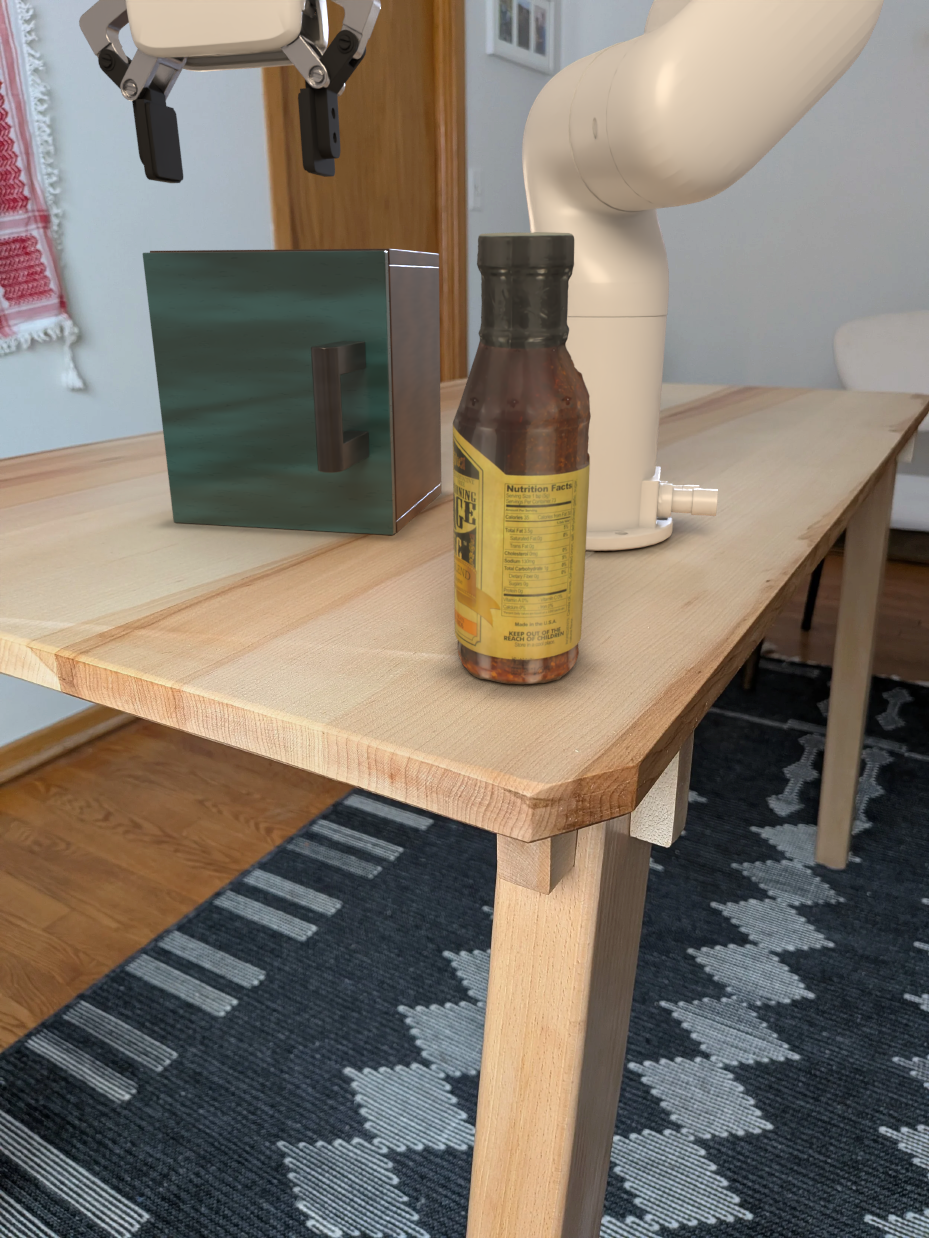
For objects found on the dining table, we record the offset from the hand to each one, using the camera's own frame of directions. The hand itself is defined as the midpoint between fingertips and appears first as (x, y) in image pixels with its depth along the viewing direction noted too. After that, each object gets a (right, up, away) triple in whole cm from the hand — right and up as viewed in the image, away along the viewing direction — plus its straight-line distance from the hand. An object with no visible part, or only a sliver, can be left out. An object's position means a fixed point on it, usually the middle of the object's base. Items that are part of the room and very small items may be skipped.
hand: (241, 177), depth 52 cm
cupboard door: (-2, -19, +15) cm, 25 cm away
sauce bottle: (+15, -28, -7) cm, 33 cm away
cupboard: (0, -16, +25) cm, 29 cm away
